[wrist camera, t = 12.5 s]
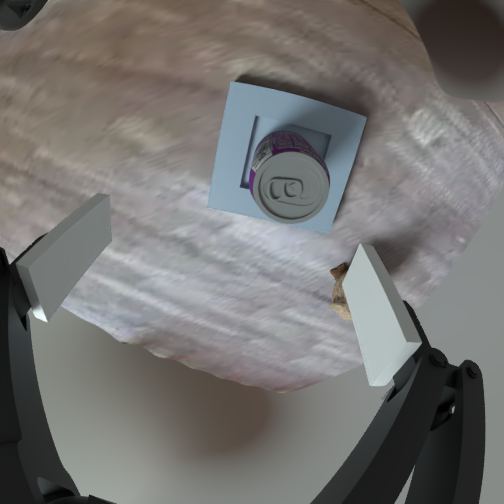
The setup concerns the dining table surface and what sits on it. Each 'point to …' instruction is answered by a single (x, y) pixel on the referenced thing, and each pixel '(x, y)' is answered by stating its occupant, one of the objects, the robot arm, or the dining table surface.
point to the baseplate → (272, 120)
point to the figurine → (340, 294)
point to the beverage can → (288, 178)
